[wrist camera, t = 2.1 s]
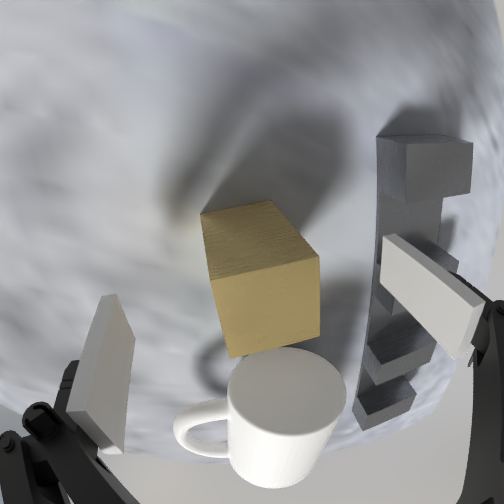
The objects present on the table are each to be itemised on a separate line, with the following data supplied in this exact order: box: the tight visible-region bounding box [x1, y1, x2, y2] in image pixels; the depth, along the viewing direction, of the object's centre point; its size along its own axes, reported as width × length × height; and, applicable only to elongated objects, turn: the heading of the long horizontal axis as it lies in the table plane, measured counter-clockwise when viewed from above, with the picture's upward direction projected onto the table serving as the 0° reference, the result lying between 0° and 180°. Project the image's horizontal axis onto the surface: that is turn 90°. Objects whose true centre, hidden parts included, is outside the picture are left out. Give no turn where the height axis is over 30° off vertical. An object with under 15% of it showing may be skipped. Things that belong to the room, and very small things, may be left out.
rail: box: [352, 135, 473, 431], centre depth 22 cm, size 28×6×3 cm, turn 8°
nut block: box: [200, 200, 320, 359], centre depth 15 cm, size 4×4×7 cm
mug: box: [173, 347, 346, 488], centre depth 21 cm, size 12×10×8 cm
